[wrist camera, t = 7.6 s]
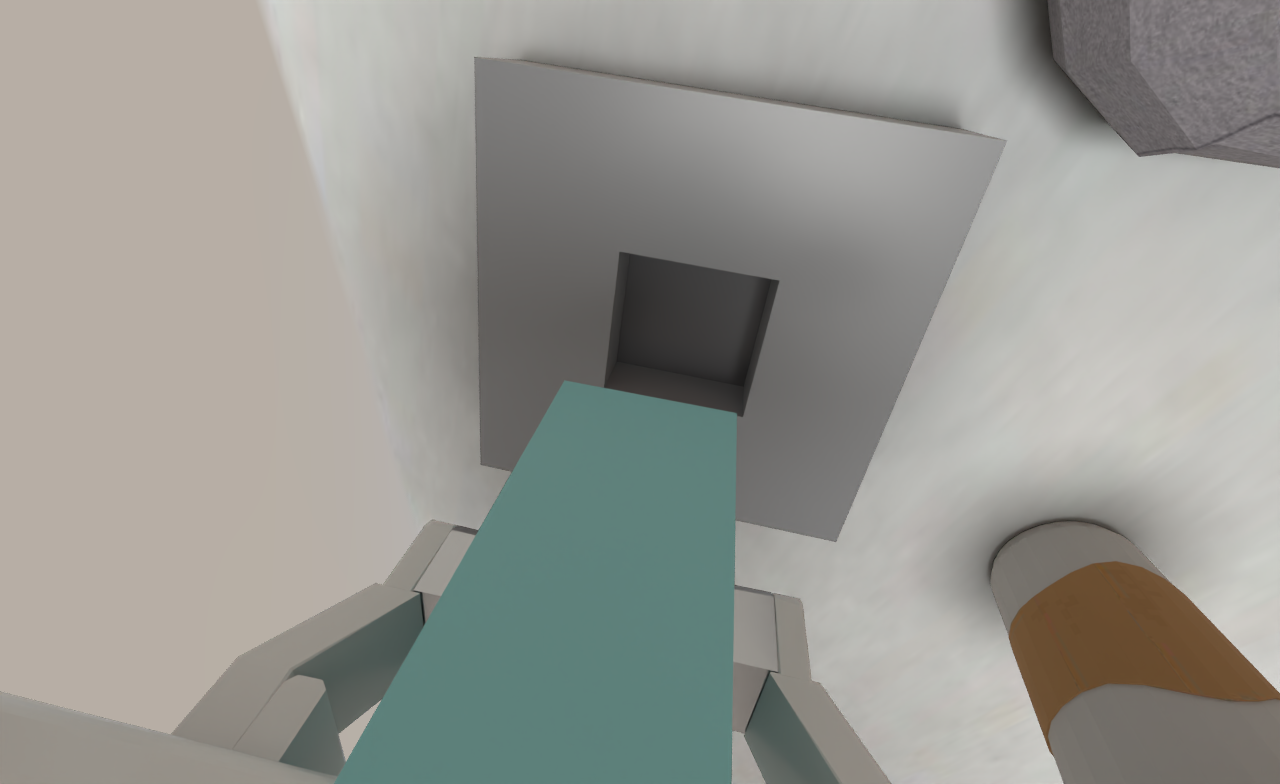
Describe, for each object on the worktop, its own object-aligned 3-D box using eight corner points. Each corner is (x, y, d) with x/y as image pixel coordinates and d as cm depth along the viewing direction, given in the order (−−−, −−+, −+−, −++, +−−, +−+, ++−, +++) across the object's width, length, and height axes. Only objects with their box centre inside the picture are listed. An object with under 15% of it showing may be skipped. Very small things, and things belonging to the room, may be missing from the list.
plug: (704, 540, 15) (663, 1058, 7) (555, 509, 15) (358, 976, 7) (736, 412, 13) (729, 945, 5) (564, 380, 13) (303, 834, 5)
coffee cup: (949, 616, 31) (1094, 1012, 18) (985, 494, 27) (1206, 892, 14) (1124, 631, 29) (1423, 1076, 16) (1190, 505, 25) (1656, 963, 12)
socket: (825, 483, 28) (835, 541, 24) (512, 418, 29) (480, 464, 26) (962, 129, 20) (1007, 140, 16) (519, 59, 21) (474, 56, 17)
